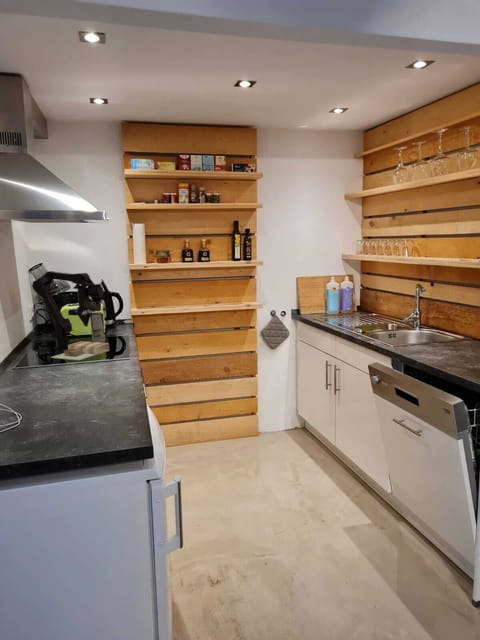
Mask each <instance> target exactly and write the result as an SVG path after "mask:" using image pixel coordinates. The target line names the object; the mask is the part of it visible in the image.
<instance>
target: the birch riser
mask: <svg viewBox="0 0 480 640" xmlns="http://www.w3.org/2000/svg"><path fill="white" fill-rule="evenodd" d="M70 349H79V350H82V351H83V354H94V355H95V356H97V355H100V354H103V353H106V352H109V351H110V343H109V342H93V341H85V340H84V341H77V342H74V343H69V345H68V348H67V350H70Z"/></svg>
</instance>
